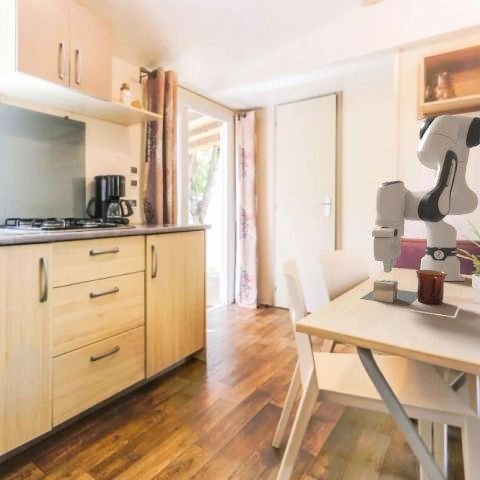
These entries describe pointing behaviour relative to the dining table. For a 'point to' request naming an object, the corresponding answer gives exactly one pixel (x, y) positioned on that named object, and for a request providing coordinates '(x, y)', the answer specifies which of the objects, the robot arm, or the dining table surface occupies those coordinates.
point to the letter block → (385, 290)
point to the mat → (402, 297)
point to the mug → (430, 286)
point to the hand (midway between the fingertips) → (387, 272)
